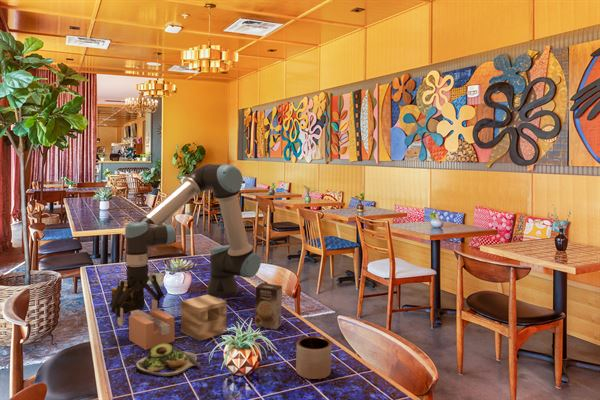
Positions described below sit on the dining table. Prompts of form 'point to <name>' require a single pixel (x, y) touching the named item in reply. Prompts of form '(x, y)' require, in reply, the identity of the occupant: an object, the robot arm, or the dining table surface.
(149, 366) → the salad plate
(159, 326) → the tan wooden bar
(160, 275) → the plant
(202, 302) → the brown notched block
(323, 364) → the planter
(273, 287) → the coffee box
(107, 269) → the dining table surface
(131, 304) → the dark brown holed cube
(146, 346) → the cradle
